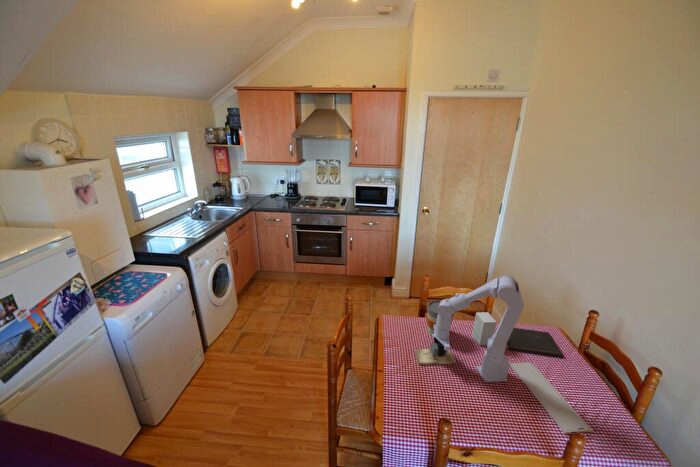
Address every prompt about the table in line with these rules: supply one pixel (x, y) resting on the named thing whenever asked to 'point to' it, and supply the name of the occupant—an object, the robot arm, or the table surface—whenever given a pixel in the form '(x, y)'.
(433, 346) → the block
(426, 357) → the pine board
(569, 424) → the baseboard molding
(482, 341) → the small box
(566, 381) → the table surface
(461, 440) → the table surface
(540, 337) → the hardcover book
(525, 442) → the table surface
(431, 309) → the reusable coffee cup
